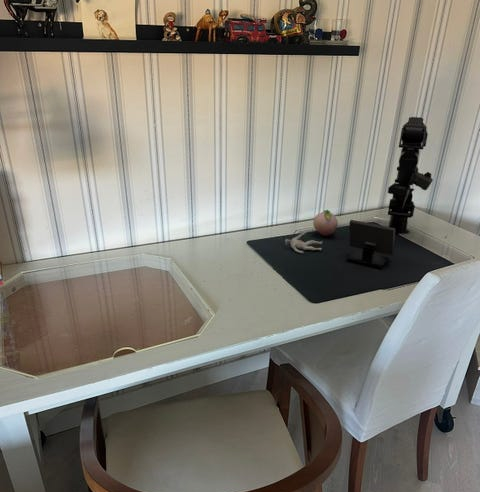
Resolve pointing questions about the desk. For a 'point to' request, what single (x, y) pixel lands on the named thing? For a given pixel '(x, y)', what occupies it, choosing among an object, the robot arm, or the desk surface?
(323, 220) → the decorative fruit
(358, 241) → the monitor screen
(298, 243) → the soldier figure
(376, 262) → the monitor stand
